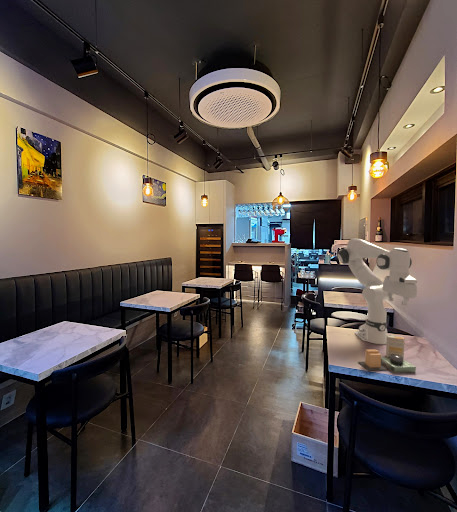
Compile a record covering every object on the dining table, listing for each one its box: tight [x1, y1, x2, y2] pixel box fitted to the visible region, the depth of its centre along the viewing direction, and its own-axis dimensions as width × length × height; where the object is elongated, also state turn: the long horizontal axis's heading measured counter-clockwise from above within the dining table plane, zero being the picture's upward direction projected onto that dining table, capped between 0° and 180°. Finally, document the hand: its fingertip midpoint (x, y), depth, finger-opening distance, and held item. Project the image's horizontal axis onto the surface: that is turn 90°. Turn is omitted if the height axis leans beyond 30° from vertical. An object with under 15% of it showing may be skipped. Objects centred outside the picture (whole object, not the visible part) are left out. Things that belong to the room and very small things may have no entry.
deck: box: [381, 354, 417, 374], centre depth 136 cm, size 12×12×6 cm
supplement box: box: [385, 334, 406, 360], centre depth 146 cm, size 8×5×13 cm, turn 66°
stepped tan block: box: [364, 348, 382, 368], centre depth 136 cm, size 4×6×8 cm
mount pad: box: [357, 361, 389, 372], centre depth 136 cm, size 9×11×1 cm
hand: (397, 302), depth 136 cm, fingers open, 8 cm apart
